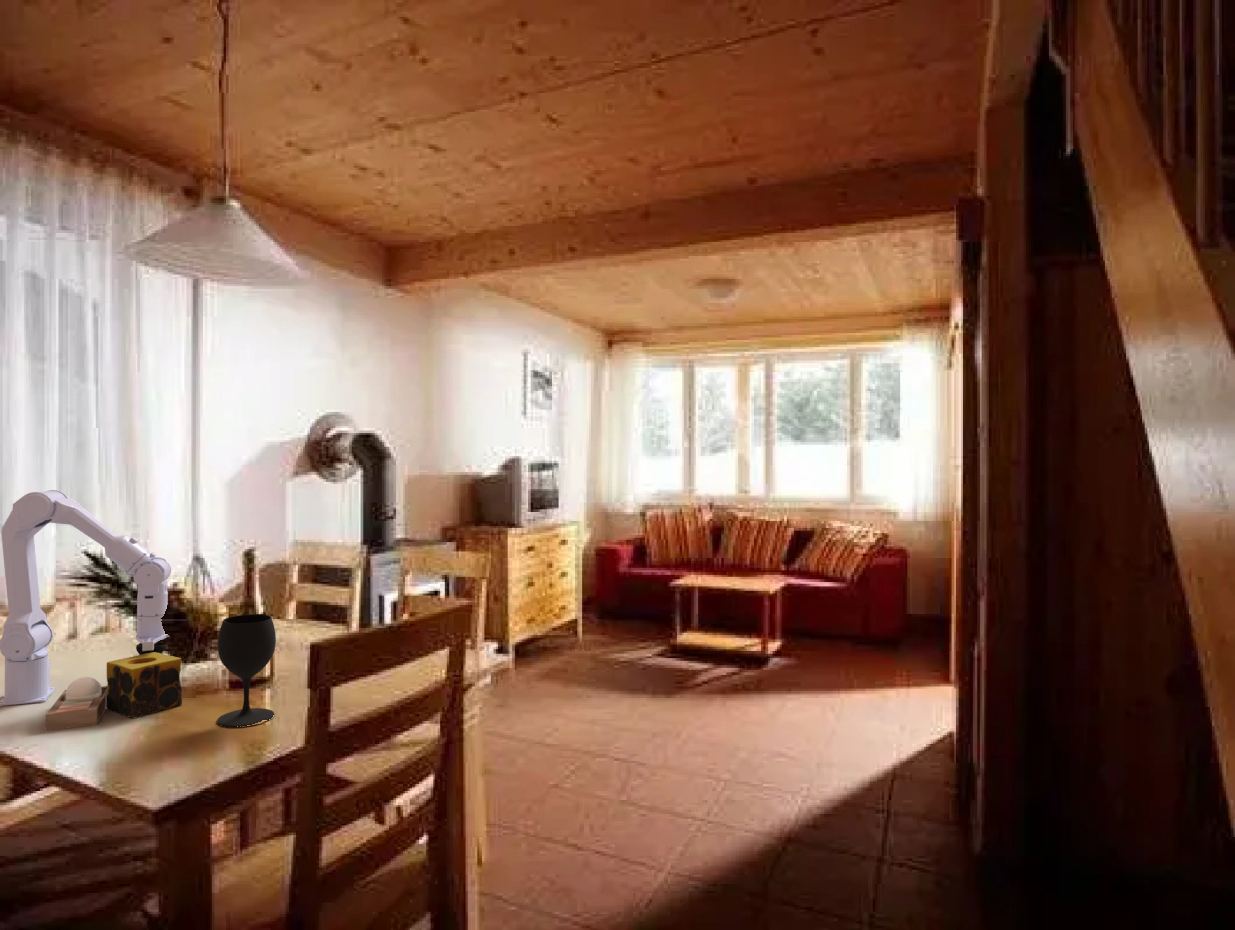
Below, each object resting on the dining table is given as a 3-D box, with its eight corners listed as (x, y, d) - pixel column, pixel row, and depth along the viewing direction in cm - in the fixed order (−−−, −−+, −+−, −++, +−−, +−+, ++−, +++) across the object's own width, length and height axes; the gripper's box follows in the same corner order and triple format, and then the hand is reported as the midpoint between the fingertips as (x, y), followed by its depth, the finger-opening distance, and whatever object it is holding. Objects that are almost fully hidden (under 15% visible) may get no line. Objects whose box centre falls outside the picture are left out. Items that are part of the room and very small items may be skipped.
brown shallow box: (64, 704, 157) (65, 689, 157) (110, 699, 160) (111, 684, 160) (45, 730, 142) (45, 713, 142) (96, 724, 146) (96, 708, 146)
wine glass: (259, 706, 158) (261, 611, 158) (284, 718, 151) (285, 618, 151) (207, 719, 150) (208, 618, 150) (230, 732, 143) (232, 627, 143)
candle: (183, 705, 158) (183, 658, 158) (131, 719, 149) (132, 669, 149) (156, 696, 163) (156, 650, 163) (105, 710, 154) (105, 661, 154)
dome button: (69, 704, 156) (69, 675, 156) (103, 700, 158) (104, 672, 158) (62, 713, 150) (62, 683, 150) (98, 709, 153) (98, 680, 153)
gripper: (170, 619, 161) (169, 682, 161) (176, 606, 174) (175, 665, 174) (131, 622, 158) (130, 686, 158) (140, 608, 171) (139, 668, 171)
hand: (151, 675), depth 166 cm, fingers closed
